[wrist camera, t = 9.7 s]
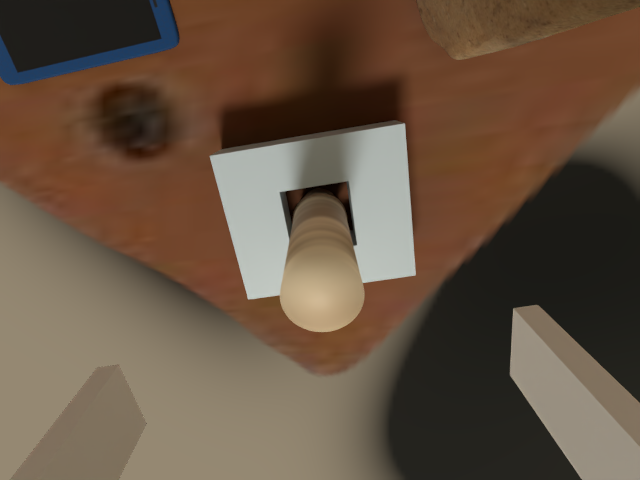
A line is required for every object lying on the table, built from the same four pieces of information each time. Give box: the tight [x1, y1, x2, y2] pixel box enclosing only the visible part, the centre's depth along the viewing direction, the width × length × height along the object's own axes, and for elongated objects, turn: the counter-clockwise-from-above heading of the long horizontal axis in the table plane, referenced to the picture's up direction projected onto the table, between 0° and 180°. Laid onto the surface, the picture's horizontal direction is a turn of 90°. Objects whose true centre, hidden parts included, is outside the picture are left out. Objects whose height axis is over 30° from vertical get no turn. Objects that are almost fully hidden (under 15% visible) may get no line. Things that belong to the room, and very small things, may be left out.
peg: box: [280, 188, 364, 332], centre depth 24 cm, size 4×4×15 cm
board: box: [210, 120, 416, 300], centre depth 29 cm, size 12×14×4 cm
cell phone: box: [0, 0, 179, 85], centre depth 26 cm, size 7×14×1 cm, turn 101°
